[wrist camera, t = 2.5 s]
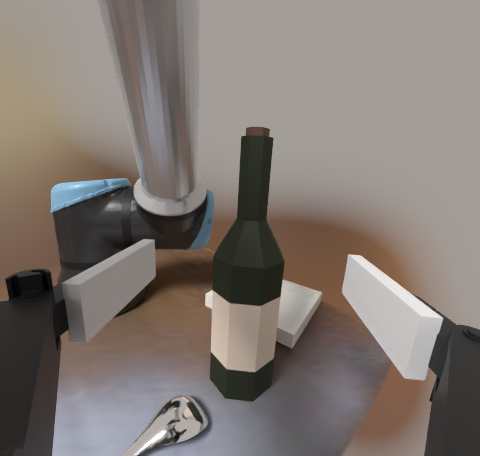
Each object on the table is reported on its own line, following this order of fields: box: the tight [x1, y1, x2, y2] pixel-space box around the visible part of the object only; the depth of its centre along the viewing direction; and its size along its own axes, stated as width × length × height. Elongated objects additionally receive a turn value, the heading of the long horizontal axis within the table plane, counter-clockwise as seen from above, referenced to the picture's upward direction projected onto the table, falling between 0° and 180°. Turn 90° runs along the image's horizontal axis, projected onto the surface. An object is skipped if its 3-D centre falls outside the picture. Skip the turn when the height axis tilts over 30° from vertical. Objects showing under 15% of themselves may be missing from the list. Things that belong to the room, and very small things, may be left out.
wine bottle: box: [210, 127, 284, 401], centre depth 26 cm, size 8×8×30 cm
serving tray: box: [205, 280, 322, 349], centre depth 45 cm, size 18×16×2 cm
